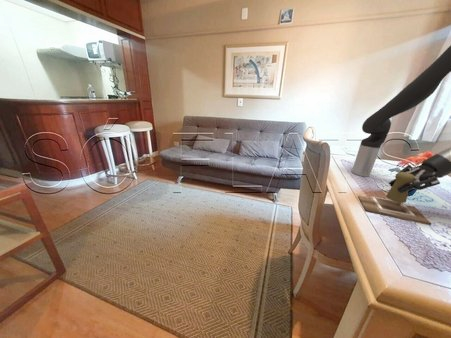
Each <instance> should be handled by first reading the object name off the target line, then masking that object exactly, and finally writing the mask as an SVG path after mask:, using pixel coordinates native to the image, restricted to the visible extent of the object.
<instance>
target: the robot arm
mask: <svg viewBox="0 0 451 338" xmlns="http://www.w3.org/2000/svg"><path fill="white" fill-rule="evenodd" d="M450 73H451V44H450V45H449V46H448V47H447V48H446V49H445V51H443V52H442V54H440V56H438V58H437V59H435V61H434V62H432V63H431V64H430V65H429V66H428V67H427V68H425V70H423V71H422V73H420V74H419V75H418V76H417V77H415V79H413V80H412V81H411V82H410V83H408V84H407V85H406V86H405V87H403V89H402V90H400V92H398V93H397V95H395V96H394V97H393V98H391V99H390V101H388V102H387V103H386V104H384V106H382V107H381V108H379V109H378V110H377V111H375V112H374V113H373V114H371V115H369V117H367V118H366V119H365V120H364V122H363V124H362V127H361V129H362V132H363V133H364V134H369V136H367V137H366V138H363V139H362V140H361V141H360V145H359V147H358V151H357V154H356V157H355V161H354V163H353V165H352V169H351V173H352V174H354V175H356V176H360V177H367V178H368V177H370V176H371V174H372V171H373V168H374V167H375V163H376V160H377V158H378V154H379V152H380V149H381V147H382V145H383V144H384V143H385V141H386V138H387V137H388V134H389V132H390V129H391V125H392V122H391V118H393V117H395V116H397V115H400V114H402V113H404V112H407V111H410V110H411V109H413V108H415V107H416V106H418V105H420V104H422V102H424V101H425V100H426V99H427V98H429V97H431V95H433V94H434V93H435V91H436V90H437V89H438V87H439V86H440V84H441V82H442V81H443V80H444V79H445V77H446V76H447V75H448V74H450ZM399 172H406V173H410V174H412V175H414V179H413V180H412V181H411V182H409V184H408V183H406V184H404V185H402V186H400V187H398V188H397V190H398V191H399V192H400V193H403V192H406V191H407V190H411V189H414V190H415V189H416V190H418V191H420V190H425V189H427V188H430V187H431V188H432V187H433V186H438V185H440V184H441V182H440V180H439V179H438V178H444V177H446V176H448V175H449V174H451V146H450V147H448V148H445V149H443V150H440V151H439V152H437V153H435V154H434V155H431V156H430V157H428V158H426V159H424V160H422V162H421V164H420V165H417V166H412V165H411V164H408V165H406V166H405V167H404V168H402V169H401V170H400V171H398V172H397V173H399ZM395 181H396V178H394V179H393V180H390V181H389V182H388V184H389V186H390V188H391V187H392V186H393V184H394V182H395Z"/></svg>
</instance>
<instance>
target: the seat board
mask: <svg viewBox="0 0 451 338" xmlns="http://www.w3.org/2000/svg"><path fill="white" fill-rule="evenodd" d="M357 199H358V201H359V202H360V204H361V205H362V208H363V209H364V211H365V212H367V213H372V214H377V215H381V216H385V217H391V218H395V219H399V220H404V221H409V222H413V223H414V222H415V223H418V224H419V223H420V224H423V225H427V226H428V225H429V226H431V225H432V222H430V220H428V218H427V217H425V216H424V214H423V213H422V212H420V211H419V210H418V209H417V207H415V206H414V205H408V204H406V203H400V202H396V201H393V200H390V199H388V198H382V197H377V196H373V195H372V196H371V197H366V196H361V195H358V196H357Z"/></svg>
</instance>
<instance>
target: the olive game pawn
mask: <svg viewBox="0 0 451 338" xmlns="http://www.w3.org/2000/svg"><path fill="white" fill-rule="evenodd" d="M398 172H399V173H398ZM398 172H397V173H396V174H395V179H396V181H395V182H394V184H393V186H392V187H391V186H390V189H389V191H388V192H387V194H386V196H385V197H386V199H389V200H393V201H396V202H400V203H404V204H406V203H407V199H408V196H409V190H407V191H406V192H403V193H400V192H399V191H398V190H397V188H398V187H400V186H402V185H404V184H406V183H408V184H409V182H411V181H412V180H413V179H414V175H412V174H410V173H406V172H400V171H398Z"/></svg>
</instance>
